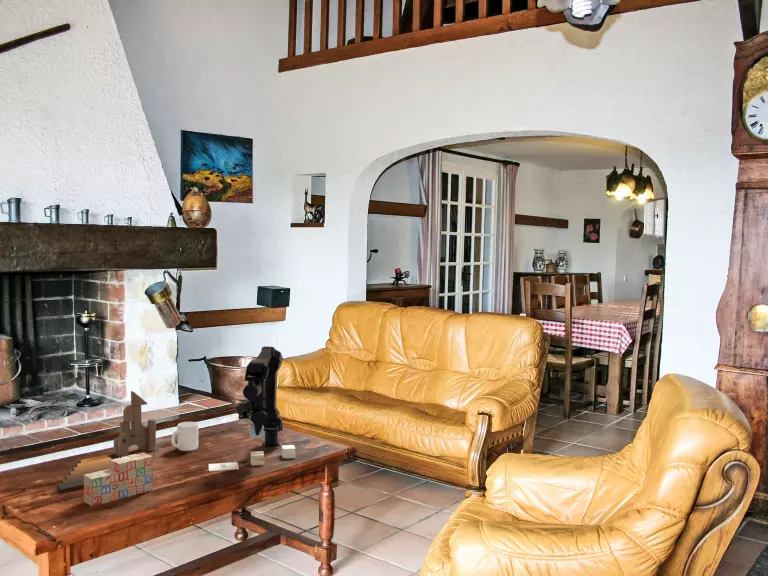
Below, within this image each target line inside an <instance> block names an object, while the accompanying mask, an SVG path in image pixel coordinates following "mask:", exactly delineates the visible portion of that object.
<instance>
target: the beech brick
mask: <svg viewBox="0 0 768 576" xmlns="http://www.w3.org/2000/svg"><path fill="white" fill-rule="evenodd" d="M249 462H250V466H251V465H252V466H264V465H265V453H264V450H261V451H250V461H249Z"/></svg>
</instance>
